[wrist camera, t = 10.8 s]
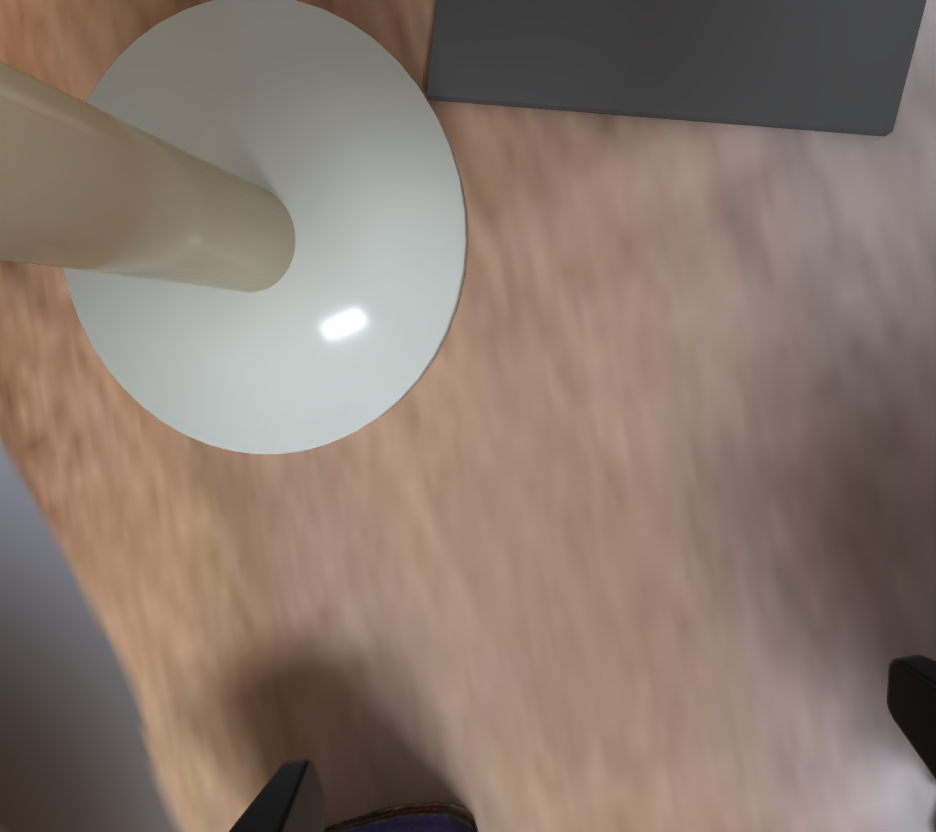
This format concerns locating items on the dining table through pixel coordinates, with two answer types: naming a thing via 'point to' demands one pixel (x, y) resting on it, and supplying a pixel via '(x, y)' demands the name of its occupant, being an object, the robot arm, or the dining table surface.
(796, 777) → the dining table surface
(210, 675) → the dining table surface
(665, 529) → the dining table surface
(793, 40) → the mat
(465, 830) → the flask
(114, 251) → the lid
